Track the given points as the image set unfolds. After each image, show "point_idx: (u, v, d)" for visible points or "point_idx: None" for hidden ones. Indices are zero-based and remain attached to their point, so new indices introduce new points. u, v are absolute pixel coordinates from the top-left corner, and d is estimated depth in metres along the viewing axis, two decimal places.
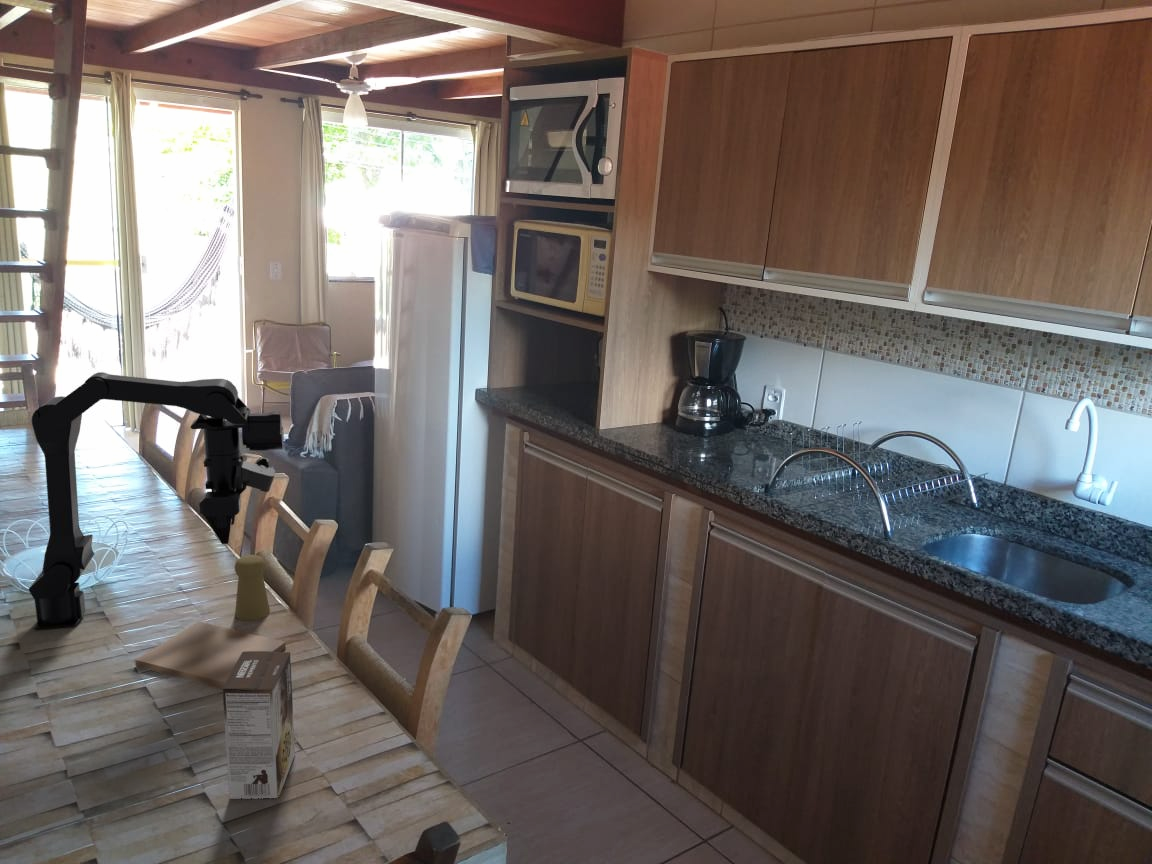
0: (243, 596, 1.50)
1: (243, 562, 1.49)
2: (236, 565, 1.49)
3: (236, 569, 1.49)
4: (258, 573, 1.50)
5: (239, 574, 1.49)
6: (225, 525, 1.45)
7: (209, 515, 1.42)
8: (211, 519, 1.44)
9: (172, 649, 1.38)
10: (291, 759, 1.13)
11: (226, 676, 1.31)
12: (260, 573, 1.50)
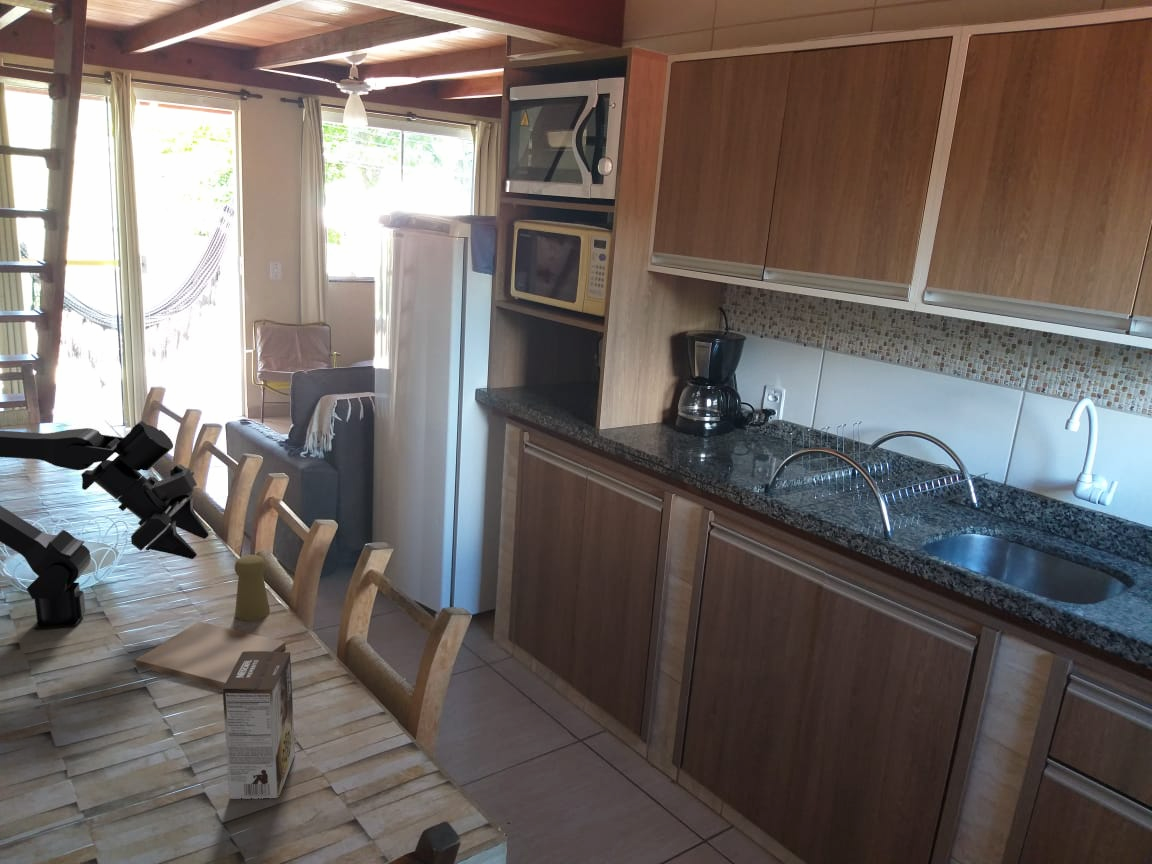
0: (243, 596, 1.50)
1: (243, 562, 1.49)
2: (236, 565, 1.49)
3: (236, 569, 1.49)
4: (258, 573, 1.50)
5: (239, 574, 1.49)
6: (177, 543, 1.42)
7: (150, 546, 1.39)
8: (160, 547, 1.41)
9: (172, 649, 1.38)
10: (291, 759, 1.13)
11: (226, 676, 1.31)
12: (260, 573, 1.50)
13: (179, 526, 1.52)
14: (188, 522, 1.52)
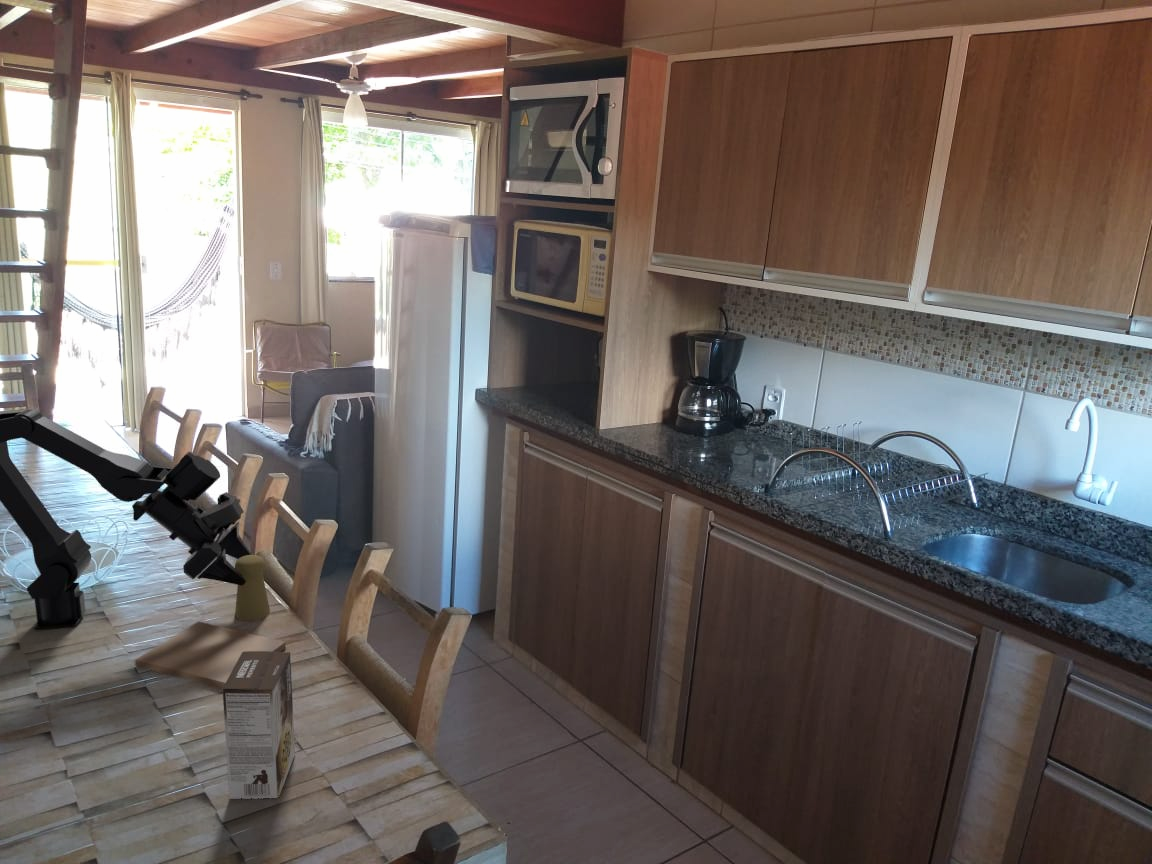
0: (243, 596, 1.50)
1: (243, 562, 1.49)
2: (236, 565, 1.49)
3: (236, 569, 1.49)
4: (258, 573, 1.50)
5: None
6: (227, 571, 1.45)
7: (202, 574, 1.42)
8: (211, 575, 1.44)
9: (172, 649, 1.38)
10: (291, 759, 1.13)
11: (226, 676, 1.31)
12: (260, 573, 1.50)
13: (226, 552, 1.55)
14: (235, 548, 1.55)
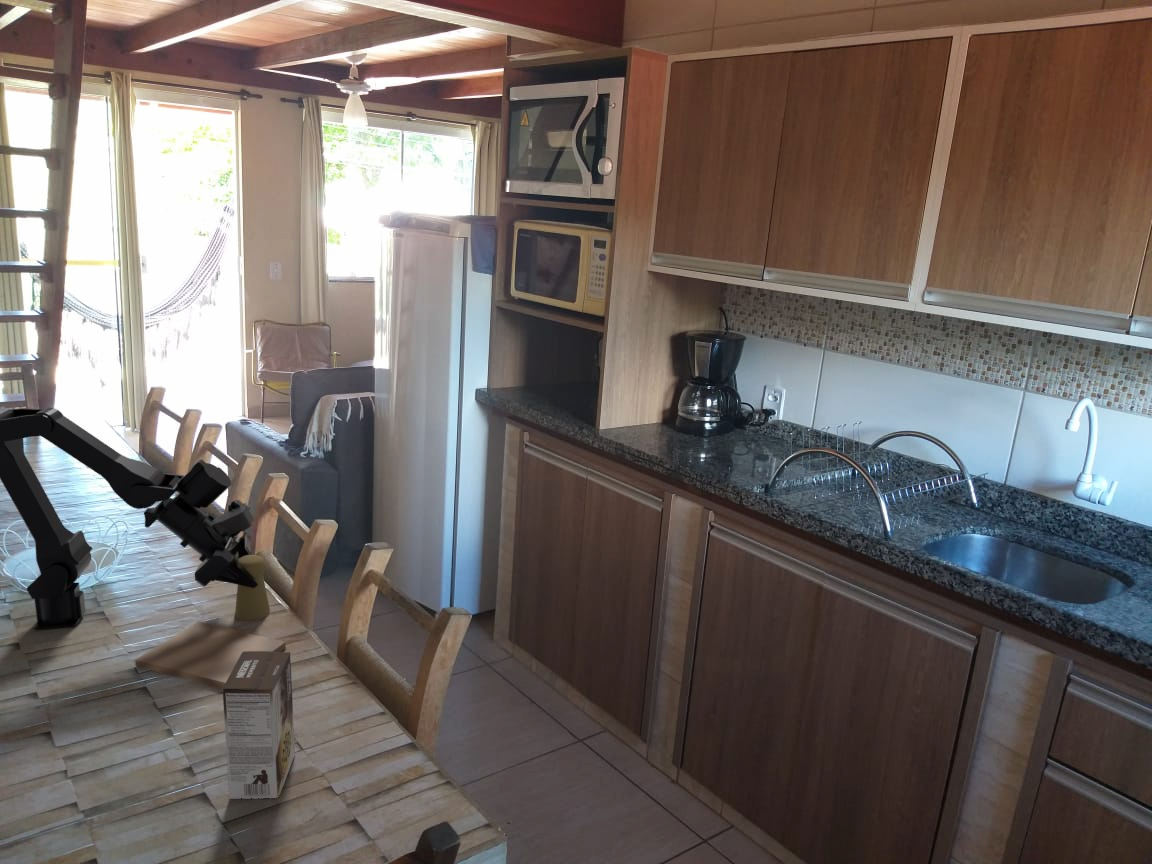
0: (243, 596, 1.50)
1: (243, 562, 1.49)
2: None
3: None
4: (258, 573, 1.50)
5: None
6: (239, 573, 1.47)
7: (215, 577, 1.44)
8: (224, 578, 1.46)
9: (172, 649, 1.38)
10: (291, 759, 1.13)
11: (226, 676, 1.31)
12: (260, 573, 1.50)
13: None
14: None
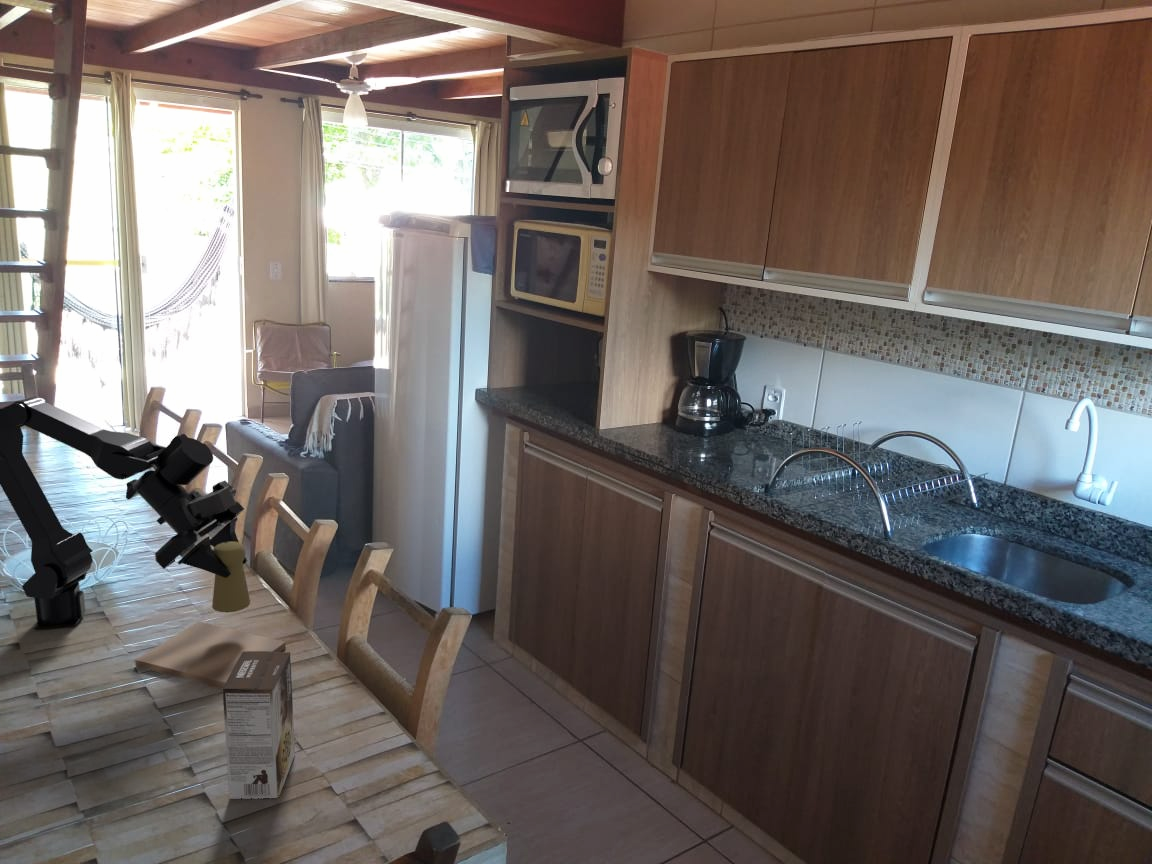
0: (217, 585, 1.39)
1: (218, 548, 1.38)
2: None
3: None
4: (233, 562, 1.38)
5: None
6: (210, 560, 1.36)
7: (181, 560, 1.34)
8: (193, 562, 1.36)
9: (172, 649, 1.38)
10: (291, 759, 1.13)
11: (226, 676, 1.31)
12: (235, 563, 1.39)
13: None
14: None
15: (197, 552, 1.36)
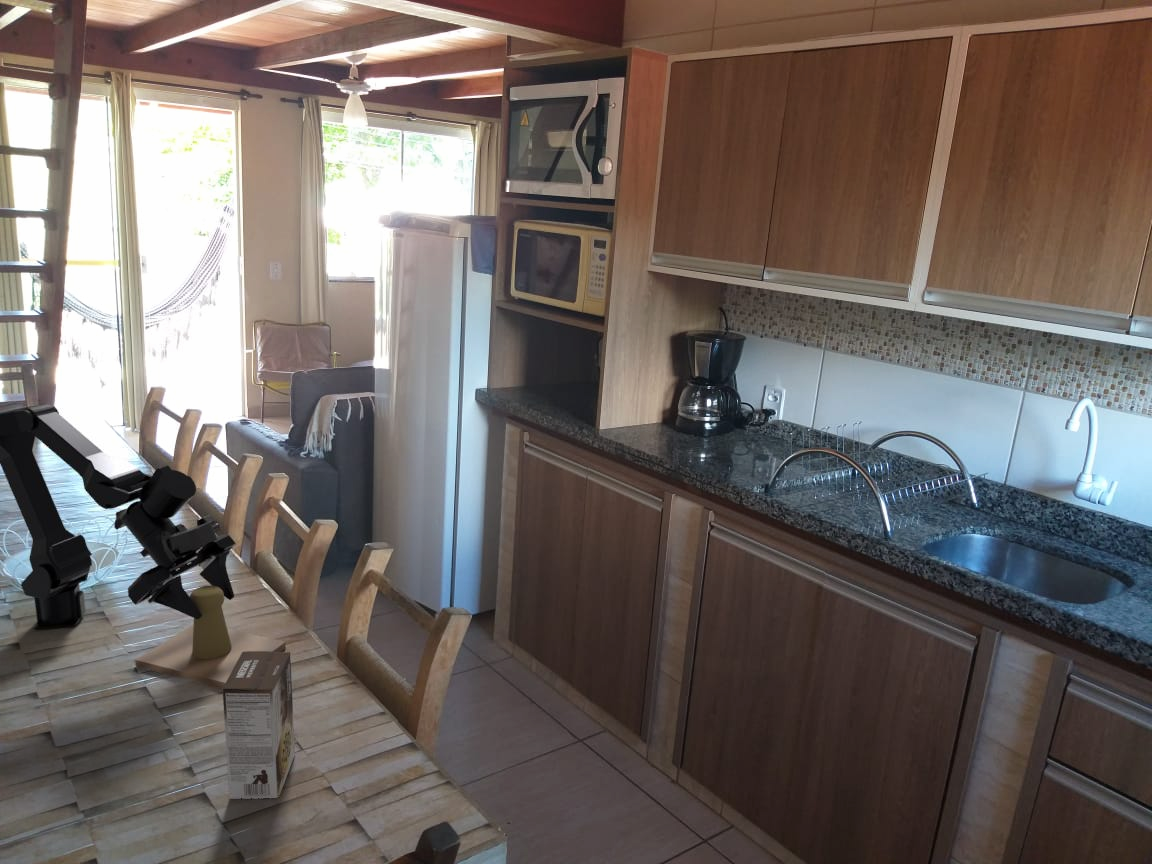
0: (195, 630, 1.35)
1: (194, 593, 1.34)
2: (190, 595, 1.35)
3: None
4: (208, 608, 1.34)
5: None
6: (180, 600, 1.31)
7: (151, 599, 1.30)
8: (165, 601, 1.31)
9: (172, 649, 1.38)
10: (291, 759, 1.13)
11: (226, 676, 1.31)
12: (211, 609, 1.34)
13: (209, 581, 1.40)
14: (216, 579, 1.39)
15: (169, 591, 1.31)
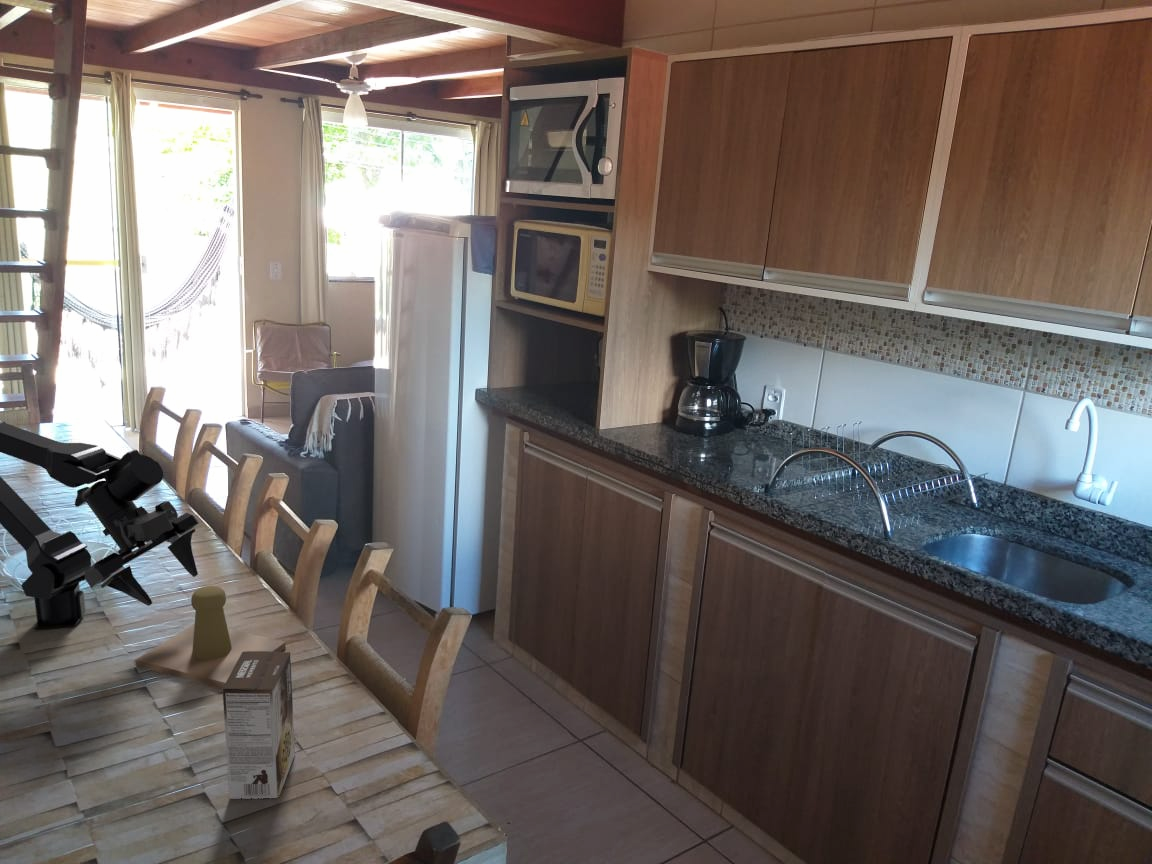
0: (195, 631, 1.35)
1: (197, 593, 1.34)
2: (192, 595, 1.35)
3: None
4: (210, 609, 1.34)
5: (192, 606, 1.34)
6: (131, 588, 1.35)
7: (103, 585, 1.34)
8: (117, 587, 1.36)
9: (172, 649, 1.38)
10: (291, 759, 1.13)
11: (226, 676, 1.31)
12: (212, 609, 1.34)
13: (176, 556, 1.45)
14: (182, 556, 1.44)
15: None
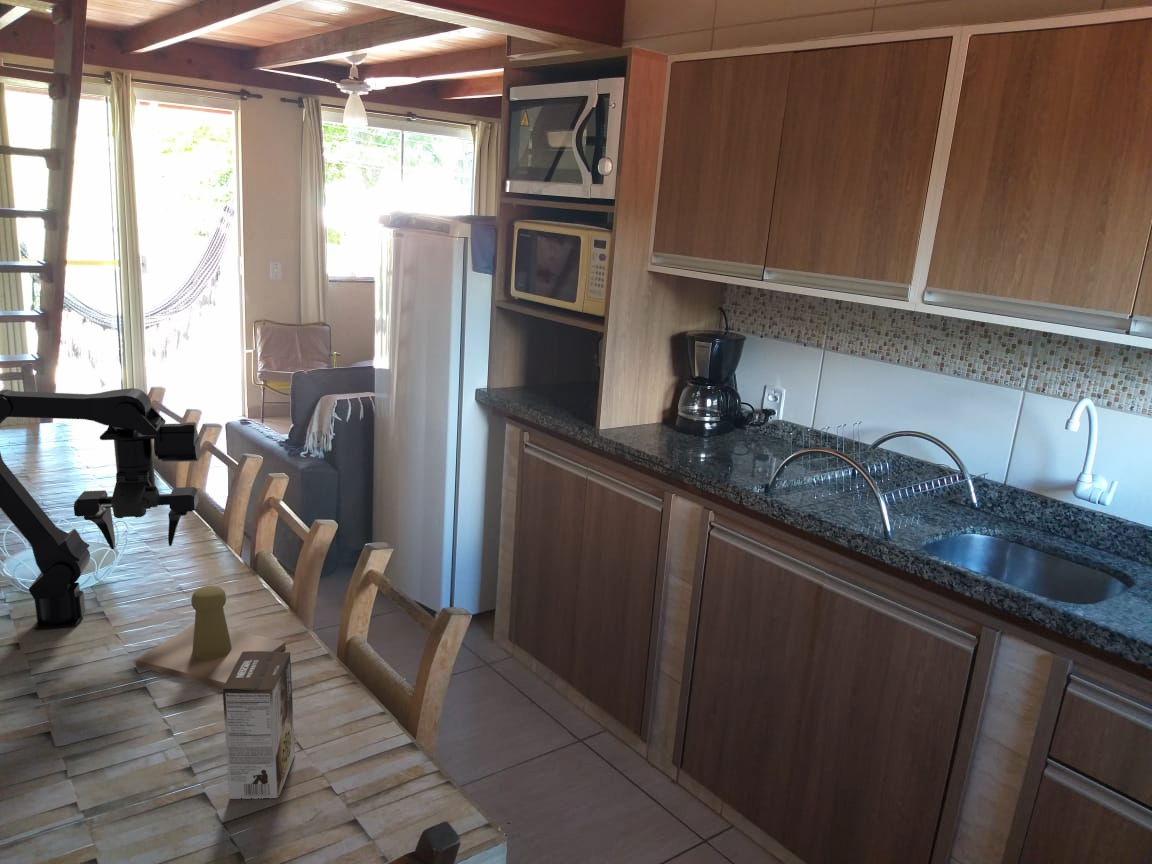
0: (196, 631, 1.35)
1: (197, 593, 1.34)
2: (192, 595, 1.35)
3: None
4: (210, 609, 1.34)
5: (192, 606, 1.34)
6: None
7: None
8: None
9: (172, 649, 1.38)
10: (291, 759, 1.13)
11: (226, 676, 1.31)
12: (212, 609, 1.34)
13: None
14: None
15: None
